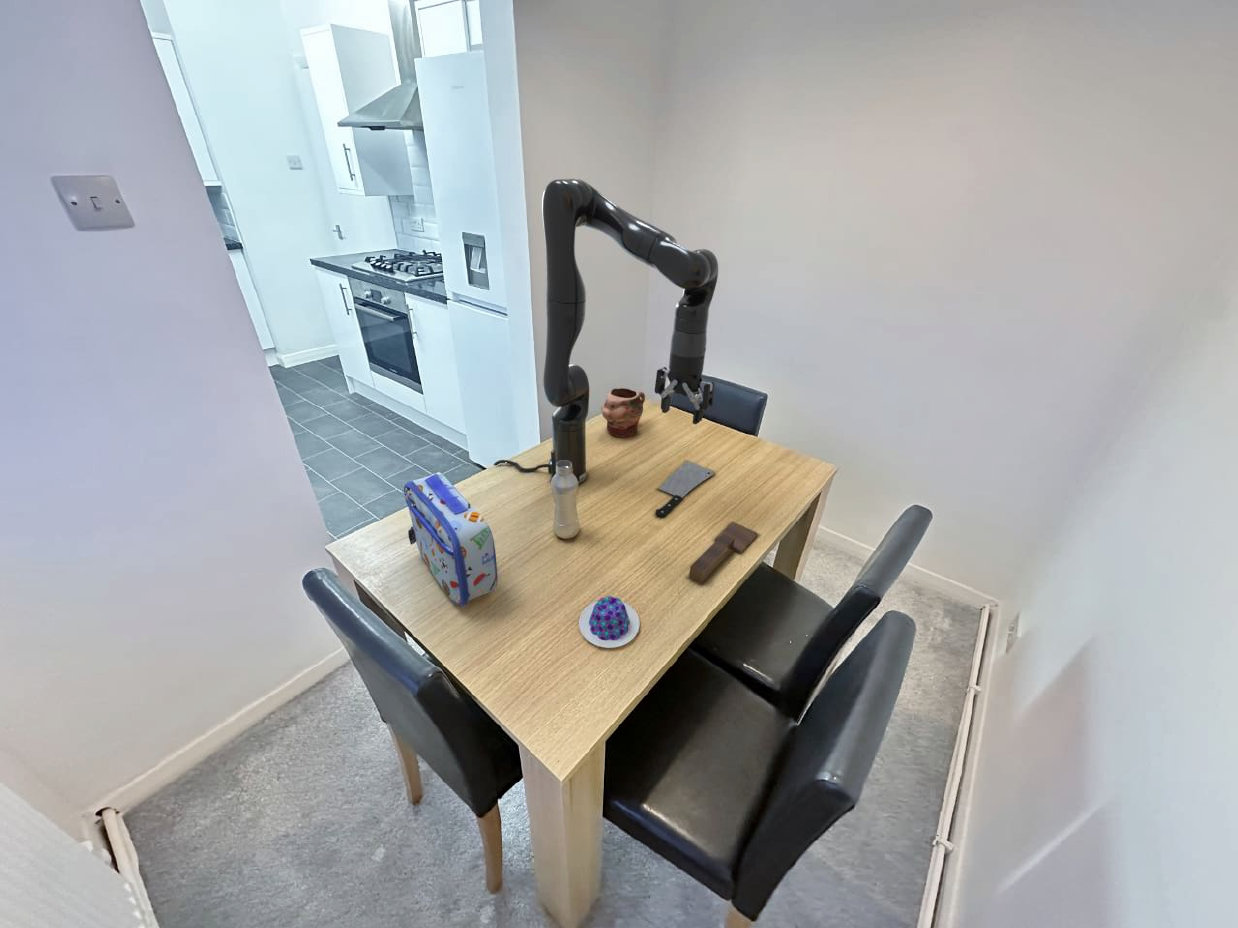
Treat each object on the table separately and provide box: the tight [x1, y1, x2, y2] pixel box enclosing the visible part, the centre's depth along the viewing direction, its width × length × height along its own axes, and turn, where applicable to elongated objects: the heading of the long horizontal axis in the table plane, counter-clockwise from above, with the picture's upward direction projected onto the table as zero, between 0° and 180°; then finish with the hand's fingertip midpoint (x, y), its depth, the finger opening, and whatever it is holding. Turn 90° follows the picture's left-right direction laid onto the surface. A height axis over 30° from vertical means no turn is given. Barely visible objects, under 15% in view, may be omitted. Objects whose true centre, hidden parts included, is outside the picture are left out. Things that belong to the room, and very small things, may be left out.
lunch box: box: [403, 471, 498, 607], centre depth 103 cm, size 28×10×22 cm, turn 42°
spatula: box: [688, 521, 758, 585], centre depth 115 cm, size 24×7×4 cm, turn 141°
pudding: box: [578, 595, 641, 649], centre depth 96 cm, size 12×12×5 cm
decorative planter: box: [600, 387, 646, 438], centre depth 166 cm, size 20×12×14 cm, turn 143°
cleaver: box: [655, 460, 714, 518], centre depth 139 cm, size 29×1×10 cm
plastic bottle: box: [550, 460, 581, 540], centre depth 116 cm, size 6×7×20 cm
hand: (680, 417), depth 115 cm, fingers open, 8 cm apart
